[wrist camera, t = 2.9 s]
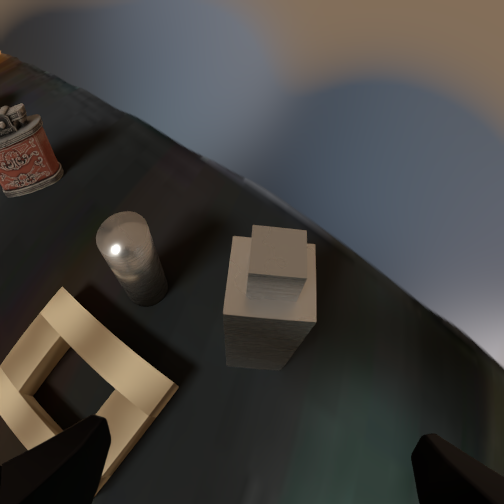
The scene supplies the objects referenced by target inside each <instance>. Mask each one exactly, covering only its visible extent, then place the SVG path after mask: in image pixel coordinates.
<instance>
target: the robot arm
mask: <svg viewBox="0 0 504 504" xmlns="http://www.w3.org/2000/svg"><path fill="white" fill-rule="evenodd" d="M110 445H111V434H110V430H109V426H108V422H107V419H106V418H104V417H102V416H98V415H94V414H93V415H90V416H88V417H87V418H85V419H83V420H81V421H80V422H78V423H76V424H75V425H73V426H71V427H69V428H68V429H66V430H64V431H62V432H61V433H59V434H57V435H55V436H53V437H52V438H50V439H48V440H46V441H44V442H43V443H41V444H39V445H37V446H35V447H33V448H32V449H30V450H28V451H26V452H24V453H22V454H20V455H19V456H17V457H15V458H13V459H11V460H9V461H7V462H5V463H3V464H2V466H1V465H0V504H92V501H93V499H94V496H95V494H96V492H97V489H98V487H99V484H100V480H101V477H102V473H103V470H104V466H105V462H106V459H107V456H108V452H109V449H110ZM411 461H412V466H413V471H414V477H415V482H416V488H417V494H418V499H419V503H420V504H504V477H503V476H501V475H500V474H498V473H496V472H495V471H493V470H491V469H490V468H488V467H487V466H485V465H483V464H482V463H480V462H479V461H477V460H475V459H474V458H472V457H471V456H469V455H467V454H466V453H464V452H463V451H461V450H460V449H458V448H457V447H455V446H453V445H452V444H450V443H449V442H447V441H446V440H444V439H443V438H441V437H440V436H438V435H437V434H427V435H423V436H422V437H421V438H420V440H419V442H418V443H417V445H416V447H415V449H414V450H413V452H412V456H411Z"/></svg>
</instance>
